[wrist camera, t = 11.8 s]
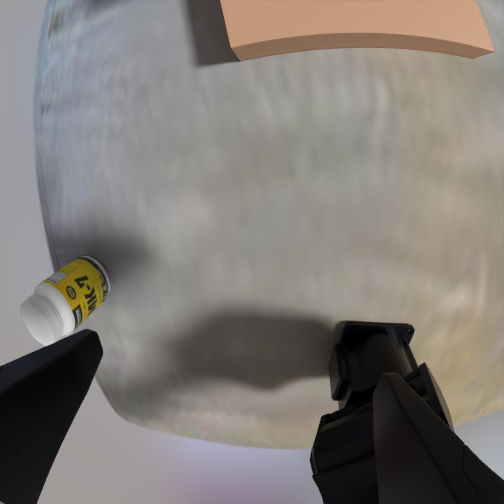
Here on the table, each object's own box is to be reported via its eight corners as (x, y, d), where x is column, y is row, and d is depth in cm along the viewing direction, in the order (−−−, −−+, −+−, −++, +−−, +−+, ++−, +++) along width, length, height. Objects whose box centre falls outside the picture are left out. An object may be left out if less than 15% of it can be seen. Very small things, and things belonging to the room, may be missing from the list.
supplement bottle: (117, 300, 24) (66, 356, 16) (83, 298, 25) (32, 346, 17) (103, 253, 22) (40, 301, 15) (69, 254, 23) (9, 296, 15)
